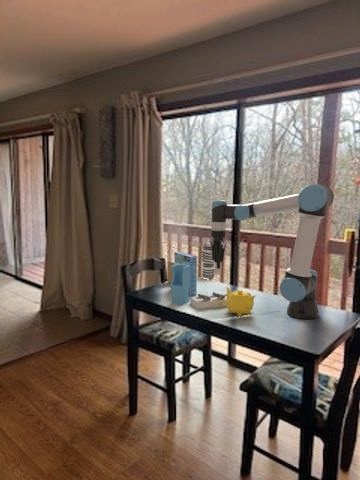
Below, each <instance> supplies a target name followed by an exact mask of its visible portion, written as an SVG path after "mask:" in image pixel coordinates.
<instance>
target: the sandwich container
mask: <svg viewBox="0 0 360 480" xmlns="http://www.w3.org/2000/svg"><path fill="white" fill-rule="evenodd" d="M173 265H175V262H172V261H169V260H168V261H167V283H168V284H170V285H171V282H172V277H173V274H172V269H171V266H173Z"/></svg>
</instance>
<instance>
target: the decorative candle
mask: <svg viewBox="0 0 360 480" xmlns="http://www.w3.org/2000/svg"><path fill="white" fill-rule="evenodd" d="M202 246H203V249H202V251H201V257H202V262H201V263H202V271H201V272H202V273H201V275H202V276H201V277H202V278H205V279H212V278H215V274H214V267H215V262H214V260H213V259H212V248H211V242H204V244H203V245H202Z"/></svg>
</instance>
